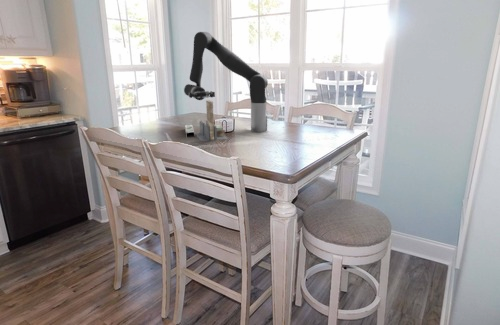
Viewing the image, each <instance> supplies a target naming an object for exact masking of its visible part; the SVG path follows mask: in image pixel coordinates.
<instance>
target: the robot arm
mask: <svg viewBox="0 0 500 325" xmlns="http://www.w3.org/2000/svg"><path fill="white" fill-rule="evenodd" d="M205 49H206V50H208V51H209V52H211V53H212V54H214V55H215V56H216V57H217V59H218V61H219V62H220V63H221V64H222V65H223V66H224V67H225V68H226V69H228V70H229V71H231V72H232V73H234V74H235V75H238V76H240V77H243V78H244V79H245V80H246V81H248V82H249V98H250V130H251V132H256V133H261V132H263V133H264V132H266V131H268V115H267V97H266V89H267V87H268V84H269V81H268V78H267V77H266V76H265V75H264V74H261V73H260V72H259V71H257V70H255V69H253V68H252V67H251V66H250V65H249V64H248V63H247V62H245V61H244V60H243V59H242V58H241V57H239V56H238V55H237V54H236V53H234V52H233V51H232V50H230V49H229V48H228V47H226V46H224V45H223V44H222V43H221V42H219V41H218V40H217V39H216V38H215V37H214V36H213V35H212V34H211V33H209V32H207V31H199V32H196V33H195V35H194V38H193V51H192V63H191V69H190V75H189V80H190V82H192V83H195V84H189V83H187V84H186V85H185V86H184V88H183V92H184V95H186V96H188V97H189V99H195V100H196V101H197V100H198V101H203V100H204V99H206V98H207V99H208V98H215V97H216V94H215V91H208V90H207V91H206V89H205V88H204V87H201V82H202V75H203V72H204V71H203V70H204V64H203V63H204V62H203V58H204V52H205Z"/></svg>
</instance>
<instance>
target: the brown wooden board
mask: <svg viewBox="0 0 500 325" xmlns="http://www.w3.org/2000/svg"><path fill="white" fill-rule="evenodd" d="M205 103H206V104H205V105H206V120H207V126H209V130H210V140H211V141H215V140H214V125H215V123H214V120H215V119H214V102H213V101H212V100H209V99H208V100H205Z"/></svg>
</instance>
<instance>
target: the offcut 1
mask: <svg viewBox="0 0 500 325" xmlns="http://www.w3.org/2000/svg"><path fill="white" fill-rule="evenodd" d="M214 125H215V126H216V129H217V131H220V130H224V127H223V126H222V125H220V123H219V124H214Z"/></svg>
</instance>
